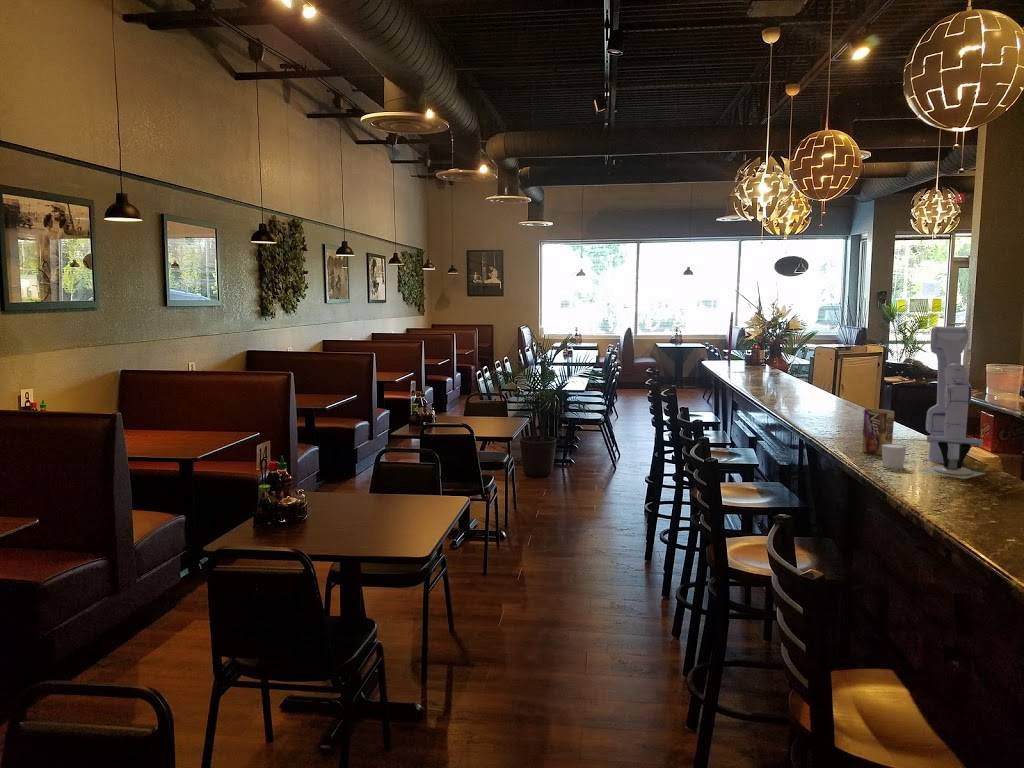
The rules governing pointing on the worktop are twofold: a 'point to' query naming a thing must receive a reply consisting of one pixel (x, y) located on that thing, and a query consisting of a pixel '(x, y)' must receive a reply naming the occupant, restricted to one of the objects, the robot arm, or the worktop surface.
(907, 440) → the worktop surface
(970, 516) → the worktop surface
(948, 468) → the lid
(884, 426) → the candy box
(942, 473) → the mat
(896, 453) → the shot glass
